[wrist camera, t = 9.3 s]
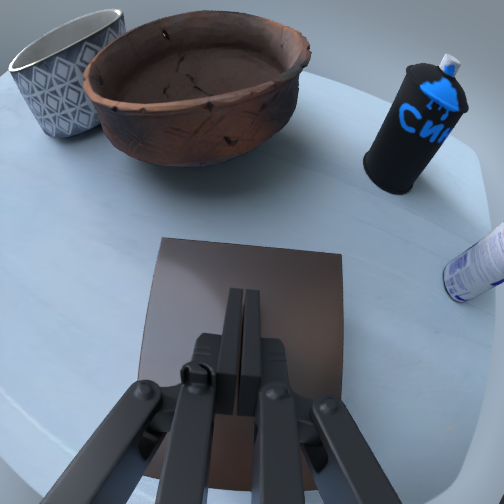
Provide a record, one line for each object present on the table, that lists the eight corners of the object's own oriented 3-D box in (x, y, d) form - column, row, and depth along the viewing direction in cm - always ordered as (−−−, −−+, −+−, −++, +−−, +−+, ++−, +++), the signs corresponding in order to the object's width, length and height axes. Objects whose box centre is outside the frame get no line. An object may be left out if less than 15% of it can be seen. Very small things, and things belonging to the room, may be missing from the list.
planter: (62, 165, 34) (15, 82, 19) (35, 122, 38) (4, 61, 23) (160, 97, 40) (145, 11, 25) (112, 71, 45) (96, 7, 30)
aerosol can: (364, 142, 38) (413, 30, 20) (411, 163, 37) (473, 63, 19) (360, 181, 34) (426, 53, 16) (413, 203, 34) (494, 96, 16)
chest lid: (164, 241, 20) (161, 236, 19) (338, 258, 20) (341, 253, 19) (135, 469, 13) (131, 472, 12) (327, 485, 13) (331, 489, 13)
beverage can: (462, 311, 28) (550, 267, 14) (436, 284, 29) (522, 226, 15) (474, 280, 30) (550, 229, 16) (449, 254, 31) (523, 193, 17)
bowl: (87, 148, 35) (51, 69, 21) (206, 74, 43) (203, 1, 30) (195, 252, 29) (166, 147, 15) (325, 136, 38) (353, 47, 24)
